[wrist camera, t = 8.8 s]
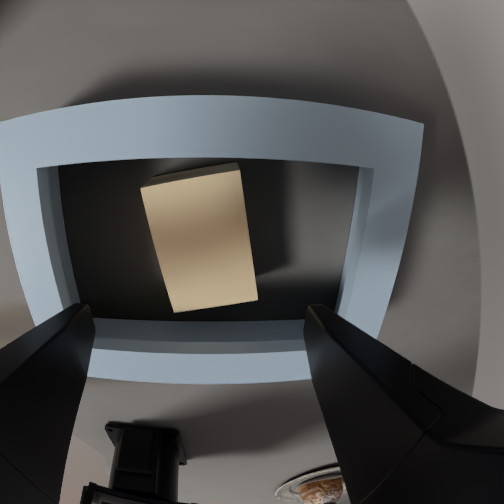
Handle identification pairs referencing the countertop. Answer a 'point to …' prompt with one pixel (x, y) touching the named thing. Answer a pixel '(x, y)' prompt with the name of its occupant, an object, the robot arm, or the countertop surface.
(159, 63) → the countertop surface
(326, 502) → the pastry
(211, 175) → the block
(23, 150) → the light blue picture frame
